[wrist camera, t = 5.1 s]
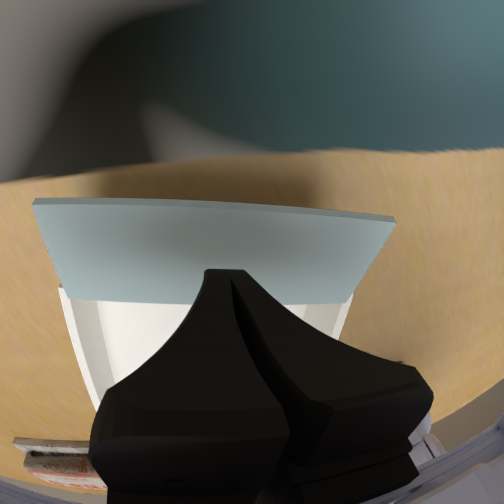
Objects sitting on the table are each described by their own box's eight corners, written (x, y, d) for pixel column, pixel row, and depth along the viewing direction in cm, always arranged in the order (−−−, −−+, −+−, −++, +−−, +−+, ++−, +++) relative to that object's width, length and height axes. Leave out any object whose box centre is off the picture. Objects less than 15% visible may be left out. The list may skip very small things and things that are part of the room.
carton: (322, 255, 22) (353, 293, 17) (274, 426, 30) (284, 462, 26) (84, 247, 18) (58, 287, 14) (125, 428, 27) (122, 466, 23)
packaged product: (110, 471, 24) (149, 498, 29) (113, 436, 28) (148, 469, 33) (6, 460, 23) (48, 491, 27) (13, 434, 27) (52, 467, 32)
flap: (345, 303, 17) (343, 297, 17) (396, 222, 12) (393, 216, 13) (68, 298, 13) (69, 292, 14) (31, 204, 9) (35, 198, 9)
